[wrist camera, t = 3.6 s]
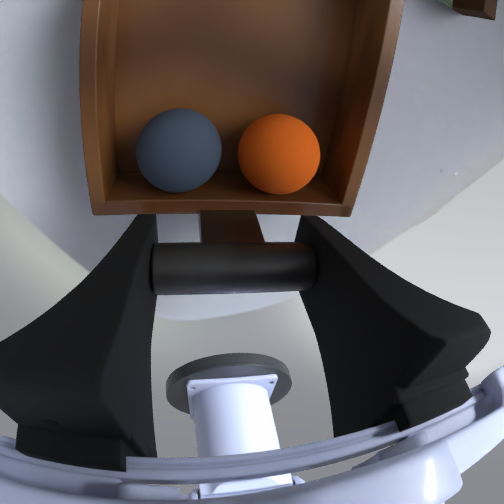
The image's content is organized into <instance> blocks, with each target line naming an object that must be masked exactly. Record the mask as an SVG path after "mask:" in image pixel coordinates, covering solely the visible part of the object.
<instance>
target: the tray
mask: <svg viewBox="0 0 504 504" xmlns="http://www.w3.org/2000/svg"><path fill="white" fill-rule="evenodd" d="M403 5H404V0H83V6H82V17H81V32H80V60H79V81H80V111H81V127H82V139H83V150H84V159H85V167H86V175H87V183H88V189H89V196H90V202H91V208H92V214H93V215H124V214H198V215H199V235H200V242H180V243H154V244H153V247H152V252H151V281H152V288H153V292H154V294H156V295H193V294H233V293H261V292H284V291H304V290H309V289H311V288H312V287H313V286H314V284H315V281H316V276H317V258H316V254H315V250H314V248H313V246H312V245H311V244H310V243H308V242H265V241H264V238H263V234H262V231H261V228H260V225H259V222H258V219H257V216H256V214H278V215H314V216H339V217H350V216H351V213H352V210H353V207H354V204H355V201H356V197H357V194H358V191H359V188H360V185H361V182H362V178H363V175H364V172H365V168H366V165H367V162H368V158H369V155H370V151H371V148H372V144H373V141H374V137H375V133H376V130H377V126H378V122H379V118H380V115H381V111H382V107H383V103H384V99H385V94H386V90H387V86H388V82H389V77H390V73H391V68H392V64H393V59H394V54H395V49H396V44H397V39H398V34H399V28H400V23H401V17H402V11H403ZM175 108H185V109H191V110H194V111H197V112H199V113H201V114H203V115H204V116H205V117H207V118H208V119H209V120H210V121H211V122H212V123H213V125H214V126H215V128H216V129H217V131H218V134H219V136H220V140H221V158H220V162H219V164H218V167H217V169H216V170H215V172H214V174H213V175H212V176H211V177H210V178H209V180H208V181H206V182H205V183H204V184H203V185H201V186H200V187H198V188H196V189H194V190H191V191H187V192H180V193H174V192H167V191H164V190H161V189H159V188H157V187H155V186H154V185H152V184H151V183H150V182H149V181H148V180H147V179H146V178H145V177H144V176H143V174H142V173H141V171H140V169H139V166H138V163H137V158H136V145H137V141H138V138H139V135H140V133H141V131H142V129H143V128H144V126H145V125H146V124H147V123H148V122H149V121H150V120H151V119H152V118H153V117H155V116H156V115H158V114H159V113H162V112H164V111H167V110H170V109H175ZM271 114H286V115H290V116H293V117H295V118H298V119H299V120H301V121H303V122H304V123H305V124H306V125H307V126H308V127H309V128H310V129H311V130H312V131H313V133H314V135H315V136H316V138H317V141H318V144H319V148H320V161H319V166H318V169H317V171H316V173H315V175H314V176H313V178H312V179H311V180H310V182H309V183H308V184H306V185H305V186H304V187H303V188H301V189H299V190H297V191H295V192H292V193H289V194H281V195H278V194H270V193H267V192H264V191H262V190H259V189H258V188H256V187H255V186H253V185H252V184H251V183H250V182H249V181H248V180H247V179H246V177H245V176H244V174H243V173H242V171H241V168H240V166H239V161H238V146H239V142H240V139H241V137H242V135H243V133H244V131H245V130H246V129H247V128H248V126H250V125H251V124H252V123H253V122H254V121H256V120H257V119H259V118H261V117H264V116H267V115H271Z"/></svg>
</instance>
